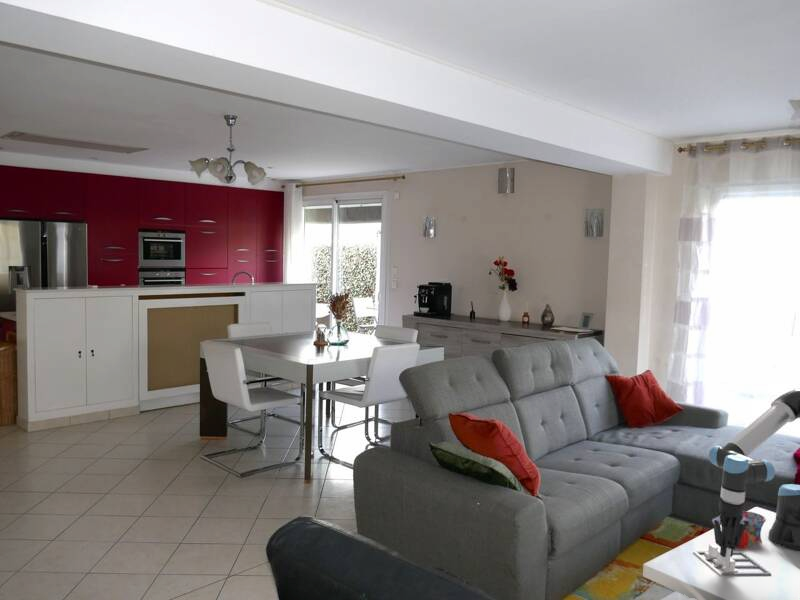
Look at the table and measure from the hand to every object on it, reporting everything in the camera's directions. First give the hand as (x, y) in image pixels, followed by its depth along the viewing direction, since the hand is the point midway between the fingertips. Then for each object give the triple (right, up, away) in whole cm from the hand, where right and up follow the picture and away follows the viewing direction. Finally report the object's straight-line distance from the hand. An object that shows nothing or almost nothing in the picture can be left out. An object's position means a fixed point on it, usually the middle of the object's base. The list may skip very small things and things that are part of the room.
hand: (725, 564), depth 225 cm
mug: (+25, -3, +29) cm, 39 cm away
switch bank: (+5, -4, +6) cm, 9 cm away
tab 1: (+1, -1, +10) cm, 10 cm away
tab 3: (+2, -2, 0) cm, 3 cm away
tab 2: (+1, -2, +5) cm, 6 cm away
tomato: (+15, -3, +23) cm, 28 cm away
